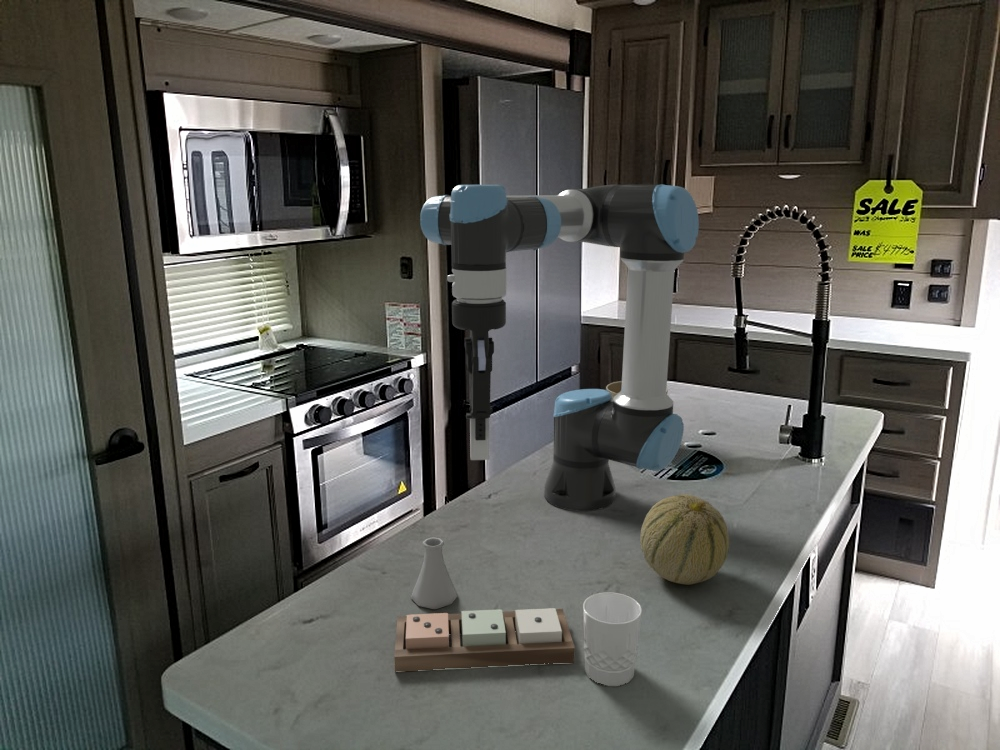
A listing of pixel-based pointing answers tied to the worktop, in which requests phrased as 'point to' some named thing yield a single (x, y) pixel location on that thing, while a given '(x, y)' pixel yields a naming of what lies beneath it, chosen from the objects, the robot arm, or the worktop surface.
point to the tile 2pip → (483, 628)
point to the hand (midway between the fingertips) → (479, 457)
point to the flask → (434, 578)
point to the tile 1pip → (537, 626)
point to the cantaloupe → (684, 539)
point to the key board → (482, 649)
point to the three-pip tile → (427, 631)
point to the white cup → (611, 637)
